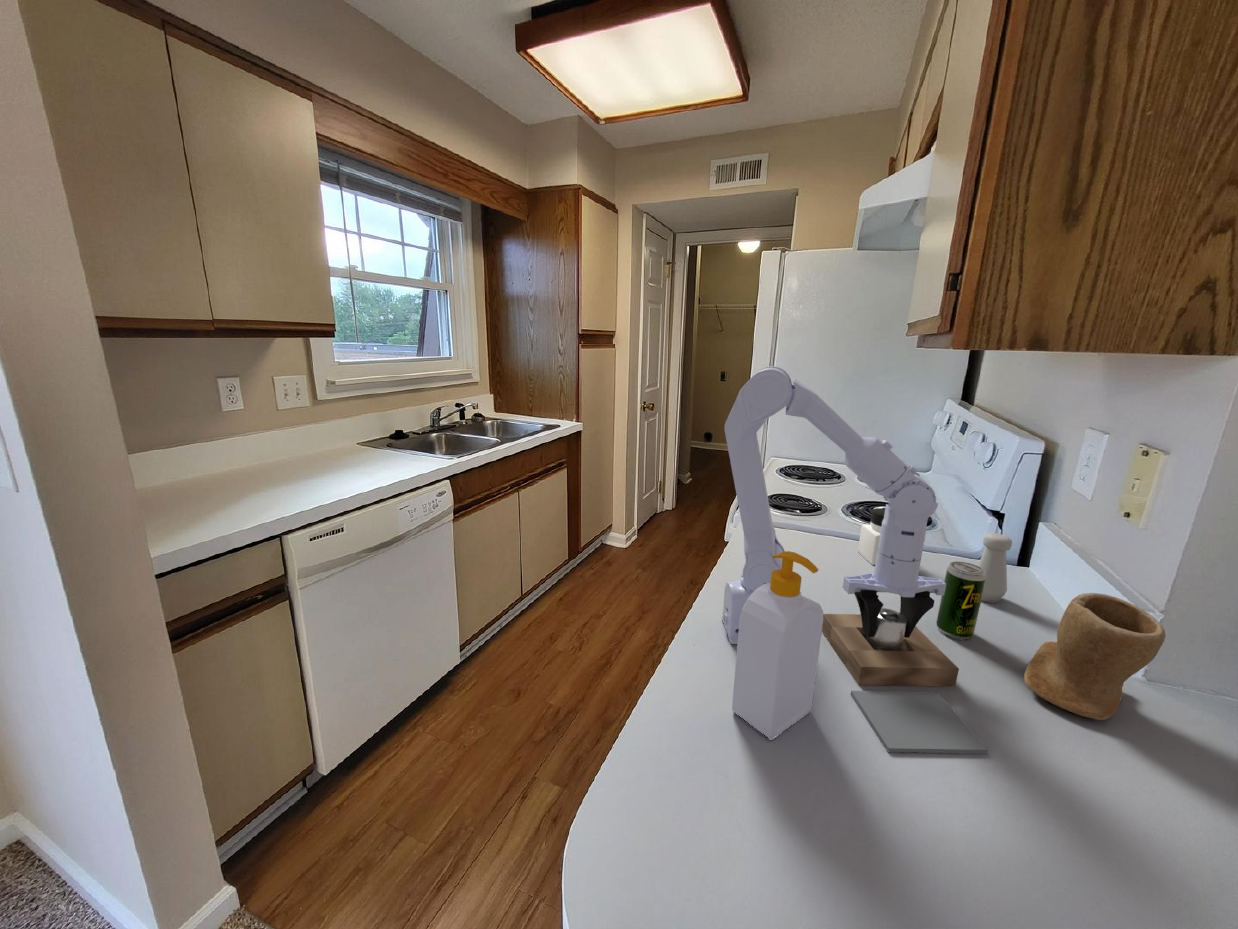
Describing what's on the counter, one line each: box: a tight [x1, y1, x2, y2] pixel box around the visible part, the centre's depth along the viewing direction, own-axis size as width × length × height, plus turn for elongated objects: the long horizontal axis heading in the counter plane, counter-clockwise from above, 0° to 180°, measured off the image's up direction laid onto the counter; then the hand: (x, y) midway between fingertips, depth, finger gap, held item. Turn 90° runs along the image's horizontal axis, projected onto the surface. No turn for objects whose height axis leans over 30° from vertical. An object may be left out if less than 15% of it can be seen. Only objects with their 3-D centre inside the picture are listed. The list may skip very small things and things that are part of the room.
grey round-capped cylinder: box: [866, 607, 907, 651], centre depth 77 cm, size 5×5×8 cm
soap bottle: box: [731, 550, 824, 740], centre depth 62 cm, size 9×7×23 cm
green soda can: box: [936, 561, 986, 641], centre depth 83 cm, size 5×5×12 cm
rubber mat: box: [850, 690, 989, 755], centre depth 64 cm, size 12×10×1 cm
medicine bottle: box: [857, 506, 886, 566], centre depth 111 cm, size 7×7×12 cm
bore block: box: [822, 613, 960, 687], centre depth 77 cm, size 14×14×3 cm
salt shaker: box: [977, 532, 1013, 604], centre depth 95 cm, size 6×6×13 cm
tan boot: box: [1023, 592, 1166, 721], centre depth 68 cm, size 15×12×15 cm
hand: (885, 633), depth 77 cm, fingers closed on grey round-capped cylinder, 5 cm apart
